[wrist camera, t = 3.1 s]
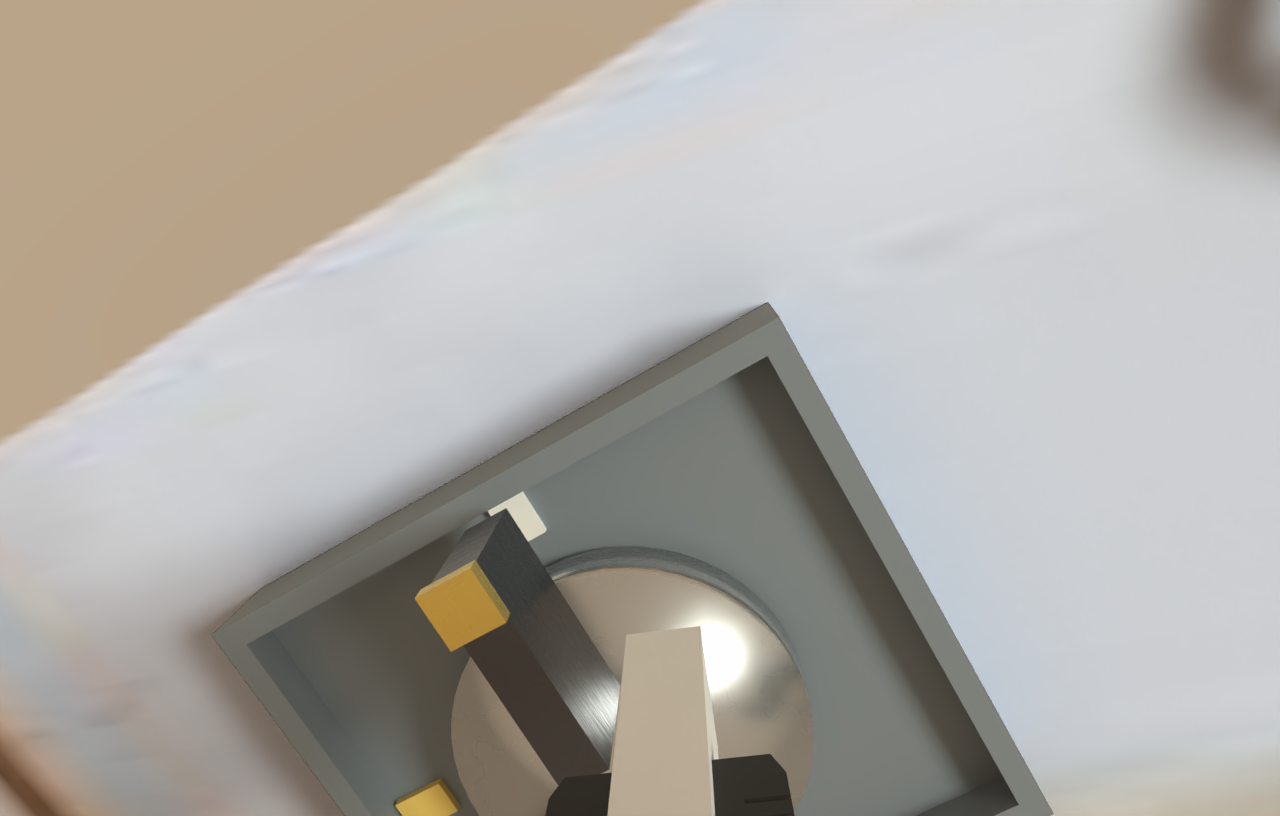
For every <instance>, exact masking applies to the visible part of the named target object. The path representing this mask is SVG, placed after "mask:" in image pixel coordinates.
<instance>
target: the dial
mask: <svg viewBox="0 0 1280 816" xmlns="http://www.w3.org/2000/svg"><path fill="white" fill-rule="evenodd" d="M415 600H416V601H417V603H418V604H419V606H420V607H421V609H422V610H423V612H424V613H425V615H426V616H427V618H428V619H429V620H430V622H431V623H432V625H433V626H434V628H435V629H436V631H437V632H438V634H439V635H440V637H441V638H442V640H443V641H444V642H445V644H446V645H447V647H448V648H449V650H450V651H451V652H452V651H454V650H456V649H457V648H459V647H461V646H464V647H465V649H466V650H467V652H468V653H469V655H470V658H469V660H468V662H467V664H466V666H465V669H464V671H463V673H462V675H461V678H460V681H459V684H458V687H457V691H456V694H455V698H454V704H453V710H452V717H451V739H452V746H453V754H454V760H455V763H456V767H457V770H458V774H459V777H460V780H461V782H462V784H463V787H464V789H465V791H466V793H467V796H468V798H469V800H470V801H471V803H472V804H473V806H474V808H475V809H476V811H477V813H478V814H479V816H545V814H546V809H547V805H548V800H549V798H550V796H551V795H552V794H553V792H554V791H555V790H556V788H557V787H558V786H559V784H560V783H561V782H562V780H563V779H564V778H565V777H574V776H584V775H593V774H603V773H612V767H613V758H614V748H615V739H616V729H617V720H618V710H619V701H620V691H621V682H622V672H623V663H624V653H625V644H626V635H627V634H635V633H644V632H653V631H661V630H670V629H679V628H687V627H696V626H701V633H702V640H703V647H704V654H705V661H706V668H707V675H708V682H709V689H710V696H711V703H712V710H713V717H714V724H715V731H716V738H717V745H718V757H719V759H725V758H734V757H744V756H753V755H763V754H771V755H772V756H773V757H774V759H775V760H776V761H777V762H778V763H779V764H780V765H781V767H782V768H783V769H784V770H785V771H786V773H787V778H788V783H789V788H790V794H791V799H792V804H793V809H794V812H795V810H796V809H797V807H798V805H799V802H800V800H801V798H802V796H803V793H804V791H805V789H806V786H807V782H808V779H809V775H810V771H811V768H812V760H813V752H814V725H813V720H812V714H811V708H810V703H809V699H808V695H807V691H806V687H805V682H804V678H803V674H802V670H801V667H800V664H799V661H798V658H797V655H796V652H795V649H794V647H793V645H792V643H791V641H790V639H789V637H788V635H787V633H786V631H785V629H784V628H783V626H782V625H781V624H780V622H779V621H778V619H777V618H776V616H775V615H774V613H773V612H772V611H771V610H770V609H769V608H768V607H767V606H766V605H765V603H764V602H763V601H762V600H761V599H760V598H759V597H758V596H757V595H756V594H755V593H753V592H752V591H751V590H750V589H749V588H747V587H746V586H745V585H744V584H743V583H742V582H740V581H739V580H737V579H735V578H734V577H732V576H731V575H729V574H728V573H726V572H724V571H723V570H721V569H719V568H717V567H715V566H713V565H711V564H709V563H706V562H704V561H702V560H700V559H697V558H694V557H691V556H688V555H685V554H682V553H678V552H673V551H668V550H663V549H658V548H647V547H634V546H632V547H611V548H605V549H599V550H593V551H587V552H584V553H581V554H578V555H574V556H571V557H568V558H565V559H563V560H561V561H558V562H556V563H554V564H552V565H550V566H547V567H544V566H543V564H542V563H541V561H540V559H539V558H538V556H537V555H536V553H535V552H534V550H533V549H532V547H531V545H530V544H529V542H528V541H527V539H526V538H525V536H524V535H523V533H522V532H521V530H520V528H519V527H518V525H517V524H516V522H515V521H514V519H513V518H512V516H511V514H510V513H509V511H508V510H507V508H505V509H503V510H501V511H500V512H498V513H496V514H494V515H492V516H491V517H489V518H487V519H485V520H483V521H482V522H480V523H478V524H476V525H474V526H473V527H471V528H469V529H467V530H465V532H464V533H463V535H462V536H461V538H460V540H459V541H458V543H457V544H456V546H455V547H454V549H453V550H452V552H451V553H450V555H449V557H448V558H447V560H446V561H445V563H444V564H443V566H442V567H441V569H440V570H439V572H438V574H437V575H436V577H435V578H434V580H433V581H432V583H431V584H430V585H428V586H426V587H424V588H422V589H421V590H420V591H419V593H418V594H417V596H416V597H415Z"/></svg>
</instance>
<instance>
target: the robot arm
mask: <svg viewBox="0 0 1280 816" xmlns="http://www.w3.org/2000/svg"><path fill="white" fill-rule="evenodd" d="M545 816H795V815H794V809H793V804H792V799H791V794H790V788H789V783H788V778H787V773H786V771H785V770H784V769H783V768H782V767H781V765H780V764H779V763H778V762H777V761H776V760H775V759H774V757H773V756H772V755H771V754H763V755H753V756H744V757H734V758H725V759H719V757H718V745H717V738H716V731H715V724H714V717H713V710H712V703H711V696H710V689H709V682H708V675H707V668H706V661H705V654H704V647H703V640H702V633H701V626H696V627H687V628H679V629H670V630H661V631H653V632H644V633H635V634H627V635H626V644H625V653H624V663H623V672H622V682H621V691H620V701H619V710H618V720H617V729H616V739H615V748H614V758H613V767H612V773H603V774H593V775H584V776H574V777H565V778H564V779H563V780H562V782H561V783H560V784H559V786H558V787H557V788H556V790H555V791H554V792H553V794H552V795H551V796H550V798H549V800H548V805H547V809H546V814H545Z"/></svg>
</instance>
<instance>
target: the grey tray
mask: <svg viewBox="0 0 1280 816" xmlns="http://www.w3.org/2000/svg"><path fill="white" fill-rule="evenodd" d="M505 508H507V510H508V511H509V513H510V514H511V516H512V518H513V519H514V521H515V522H516V524H517V525H518V527H519V528H520V530H521V532H522V533H523V535H524V536H525V538H526V539H527V541H528V542H529V544H530V545H531V547H532V549H533V550H534V552H535V553H536V555H537V556H538V558H539V559H540V561H541V563H542V564H543V566H544V567H547V566H550V565H552V564H554V563H556V562H558V561H561V560H563V559H565V558H568V557H571V556H574V555H578V554H581V553H584V552H587V551H593V550H599V549H605V548H611V547H632V546H634V547H647V548H658V549H663V550H668V551H673V552H678V553H682V554H685V555H688V556H691V557H694V558H697V559H700V560H702V561H704V562H706V563H709V564H711V565H713V566H715V567H717V568H719V569H721V570H723V571H724V572H726V573H728V574H729V575H731V576H732V577H734V578H735V579H737V580H739V581H740V582H742V583H743V584H744V585H745V586H746V587H747V588H749V589H750V590H751V591H752V592H753V593H755V594H756V595H757V596H758V597H759V598H760V599H761V600H762V601H763V602H764V603H765V605H766V606H767V607H768V608H769V609H770V610H771V611H772V612H773V613H774V615H775V616H776V618H777V619H778V621H779V622H780V624H781V625H782V626H783V628H784V629H785V631H786V633H787V635H788V637H789V639H790V641H791V643H792V645H793V647H794V649H795V652H796V655H797V658H798V661H799V664H800V667H801V670H802V674H803V678H804V682H805V687H806V691H807V695H808V699H809V703H810V708H811V714H812V720H813V725H814V752H813V760H812V768H811V771H810V775H809V779H808V782H807V786H806V789H805V791H804V793H803V796H802V798H801V800H800V802H799V805H798V807H797V809H796V810H795V812H794V815H795V816H1050V815H1052V814H1053V812H1052V810H1051V808H1050V806H1049V805H1048V803H1047V801H1046V799H1045V797H1044V795H1043V794H1042V792H1041V790H1040V788H1039V786H1038V785H1037V783H1036V781H1035V779H1034V777H1033V776H1032V774H1031V772H1030V770H1029V768H1028V766H1027V765H1026V763H1025V761H1024V759H1023V757H1022V756H1021V754H1020V752H1019V750H1018V748H1017V747H1016V745H1015V743H1014V741H1013V739H1012V738H1011V736H1010V734H1009V732H1008V730H1007V728H1006V727H1005V725H1004V723H1003V721H1002V719H1001V718H1000V716H999V714H998V712H997V710H996V709H995V707H994V705H993V703H992V701H991V700H990V698H989V696H988V694H987V692H986V690H985V689H984V687H983V685H982V683H981V681H980V680H979V678H978V676H977V674H976V672H975V671H974V669H973V667H972V665H971V663H970V661H969V660H968V658H967V656H966V654H965V652H964V651H963V649H962V647H961V645H960V643H959V642H958V640H957V638H956V636H955V634H954V633H953V631H952V629H951V627H950V625H949V623H948V622H947V620H946V618H945V616H944V614H943V613H942V611H941V609H940V607H939V605H938V604H937V602H936V600H935V598H934V596H933V595H932V593H931V591H930V589H929V587H928V585H927V584H926V582H925V580H924V578H923V576H922V575H921V573H920V571H919V569H918V567H917V566H916V564H915V562H914V560H913V558H912V556H911V555H910V553H909V551H908V549H907V547H906V546H905V544H904V542H903V540H902V538H901V537H900V535H899V533H898V531H897V529H896V528H895V526H894V524H893V522H892V520H891V518H890V517H889V515H888V513H887V511H886V509H885V508H884V506H883V504H882V502H881V500H880V499H879V497H878V495H877V493H876V491H875V490H874V488H873V486H872V484H871V482H870V480H869V479H868V477H867V475H866V473H865V471H864V470H863V468H862V466H861V464H860V462H859V461H858V459H857V457H856V455H855V453H854V451H853V450H852V448H851V446H850V444H849V442H848V441H847V439H846V437H845V435H844V433H843V432H842V430H841V428H840V426H839V424H838V423H837V421H836V419H835V417H834V415H833V413H832V412H831V410H830V408H829V406H828V404H827V403H826V401H825V399H824V397H823V395H822V394H821V392H820V390H819V388H818V386H817V385H816V383H815V381H814V379H813V377H812V375H811V374H810V372H809V370H808V368H807V366H806V365H805V363H804V361H803V359H802V357H801V356H800V354H799V352H798V350H797V348H796V346H795V345H794V343H793V341H792V339H791V337H790V336H789V334H788V332H787V330H786V328H785V327H784V325H783V323H782V321H781V319H780V318H779V316H778V315H777V313H776V312H775V311H774V309H773V308H772V307H771V305H770V304H769V303H768V302H767V303H766V304H764V305H762V306H760V307H759V308H757V309H755V310H753V311H752V312H750V313H748V314H746V315H744V316H743V317H741V318H739V319H737V320H736V321H734V322H732V323H730V324H729V325H727V326H725V327H723V328H721V329H720V330H718V331H716V332H714V333H713V334H711V335H709V336H707V337H706V338H704V339H702V340H700V341H698V342H697V343H695V344H693V345H691V346H690V347H688V348H686V349H684V350H682V351H681V352H679V353H677V354H675V355H674V356H672V357H670V358H668V359H667V360H665V361H663V362H661V363H659V364H658V365H656V366H654V367H652V368H651V369H649V370H647V371H645V372H644V373H642V374H640V375H638V376H636V377H635V378H633V379H631V380H629V381H628V382H626V383H624V384H622V385H621V386H619V387H617V388H615V389H613V390H612V391H610V392H608V393H606V394H605V395H603V396H601V397H599V398H597V399H596V400H594V401H592V402H590V403H589V404H587V405H585V406H583V407H582V408H580V409H578V410H576V411H574V412H573V413H571V414H569V415H567V416H566V417H564V418H562V419H560V420H559V421H557V422H555V423H553V424H551V425H550V426H548V427H546V428H544V429H543V430H541V431H539V432H537V433H536V434H534V435H532V436H530V437H528V438H527V439H525V440H523V441H521V442H520V443H518V444H516V445H514V446H512V447H511V448H509V449H507V450H505V451H504V452H502V453H500V454H498V455H497V456H495V457H493V458H491V459H489V460H488V461H486V462H484V463H482V464H481V465H479V466H477V467H475V468H474V469H472V470H470V471H468V472H466V473H465V474H463V475H461V476H459V477H458V478H456V479H454V480H452V481H451V482H449V483H447V484H445V485H443V486H442V487H440V488H438V489H436V490H435V491H433V492H431V493H429V494H428V495H426V496H424V497H422V498H420V499H419V500H417V501H415V502H413V503H412V504H410V505H408V506H406V507H404V508H403V509H401V510H399V511H397V512H396V513H394V514H392V515H390V516H389V517H387V518H385V519H383V520H381V521H380V522H378V523H376V524H374V525H373V526H371V527H369V528H367V529H366V530H364V531H362V532H360V533H358V534H357V535H355V536H353V537H351V538H350V539H348V540H346V541H344V542H343V543H341V544H339V545H337V546H335V547H334V548H332V549H330V550H328V551H327V552H325V553H323V554H321V555H319V556H318V557H316V558H314V559H312V560H311V561H309V562H307V563H305V564H304V565H302V566H300V567H298V568H296V569H295V570H293V571H291V572H289V573H288V574H286V575H284V576H282V577H281V578H279V579H277V580H275V581H273V582H272V583H270V584H268V585H266V586H265V587H263V588H261V589H260V590H259V591H258V592H257V593H256V594H255V595H254V596H253V597H252V598H251V599H249V600H248V601H247V602H246V603H245V604H244V605H243V606H242V607H241V608H240V609H239V610H238V611H237V612H236V613H235V614H233V615H232V616H231V617H230V618H229V619H228V620H227V621H226V622H225V623H224V624H223V625H222V626H221V627H220V628H219V629H217V630H216V631H215V632H214V633H213V634H212V635H211V636H212V637H213V638H214V640H215V641H216V642H217V644H218V645H219V646H220V648H221V649H222V650H223V652H224V653H225V655H226V656H227V657H228V659H229V660H230V661H231V663H232V664H233V665H234V667H235V668H236V669H237V671H238V672H239V673H240V675H241V676H242V678H243V679H244V680H245V682H246V683H247V684H248V686H249V687H250V688H251V690H252V691H253V692H254V694H255V695H256V696H257V698H258V699H259V701H260V702H261V703H262V705H263V706H264V707H265V709H266V710H267V711H268V713H269V714H270V715H271V717H272V718H273V719H274V721H275V722H276V723H277V725H278V726H279V728H280V729H281V730H282V732H283V733H284V734H285V736H286V737H287V738H288V740H289V741H290V742H291V744H292V745H293V746H294V748H295V749H296V751H297V752H298V753H299V755H300V756H301V757H302V759H303V760H304V761H305V763H306V764H307V765H308V767H309V768H310V769H311V771H312V772H313V774H314V775H315V776H316V778H317V779H318V780H319V782H320V783H321V784H322V786H323V787H324V788H325V790H326V791H327V792H328V794H329V795H330V796H331V798H332V799H333V801H334V802H335V803H336V805H337V806H338V807H339V809H340V810H341V811H342V813H343V814H344V815H345V816H479V814H478V813H477V811H476V809H475V808H474V806H473V804H472V803H471V801H470V800H469V798H468V796H467V793H466V791H465V789H464V787H463V784H462V782H461V780H460V777H459V774H458V770H457V767H456V763H455V760H454V754H453V746H452V739H451V717H452V710H453V704H454V698H455V694H456V691H457V687H458V684H459V681H460V678H461V675H462V673H463V671H464V669H465V666H466V664H467V662H468V660H469V658H470V655H469V653H468V652H467V650H466V649H465V647H464V646H461V647H459V648H457V649H456V650H454V651H452V652H451V651H450V650H449V648H448V647H447V645H446V644H445V642H444V641H443V640H442V638H441V637H440V635H439V634H438V632H437V631H436V629H435V628H434V626H433V625H432V623H431V622H430V620H429V619H428V618H427V616H426V615H425V613H424V612H423V610H422V609H421V607H420V606H419V604H418V603H417V601H416V600H415V597H416V596H417V594H418V593H419V591H420V590H421V589H422V588H424V587H426V586H428V585H430V584H431V583H432V581H433V580H434V578H435V577H436V575H437V574H438V572H439V570H440V569H441V567H442V566H443V564H444V563H445V561H446V560H447V558H448V557H449V555H450V553H451V552H452V550H453V549H454V547H455V546H456V544H457V543H458V541H459V540H460V538H461V536H462V535H463V533H464V532H465V530H467V529H469V528H471V527H473V526H474V525H476V524H478V523H480V522H482V521H483V520H485V519H487V518H489V517H491V516H492V515H494V514H496V513H498V512H500V511H501V510H503V509H505Z"/></svg>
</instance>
